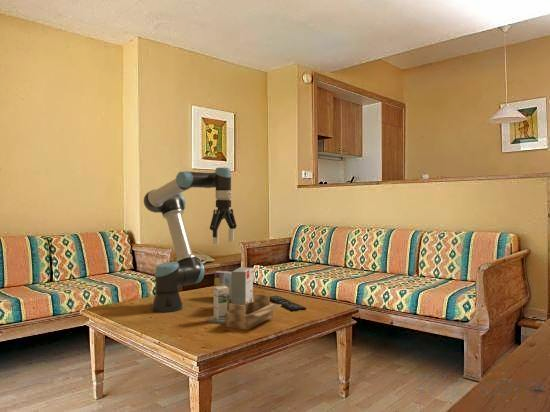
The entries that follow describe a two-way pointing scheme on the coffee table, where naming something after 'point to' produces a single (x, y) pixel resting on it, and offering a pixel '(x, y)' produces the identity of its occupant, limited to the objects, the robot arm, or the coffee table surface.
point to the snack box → (223, 280)
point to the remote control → (286, 303)
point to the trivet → (215, 320)
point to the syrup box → (221, 301)
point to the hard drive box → (242, 286)
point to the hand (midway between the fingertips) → (223, 243)
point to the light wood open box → (250, 313)
